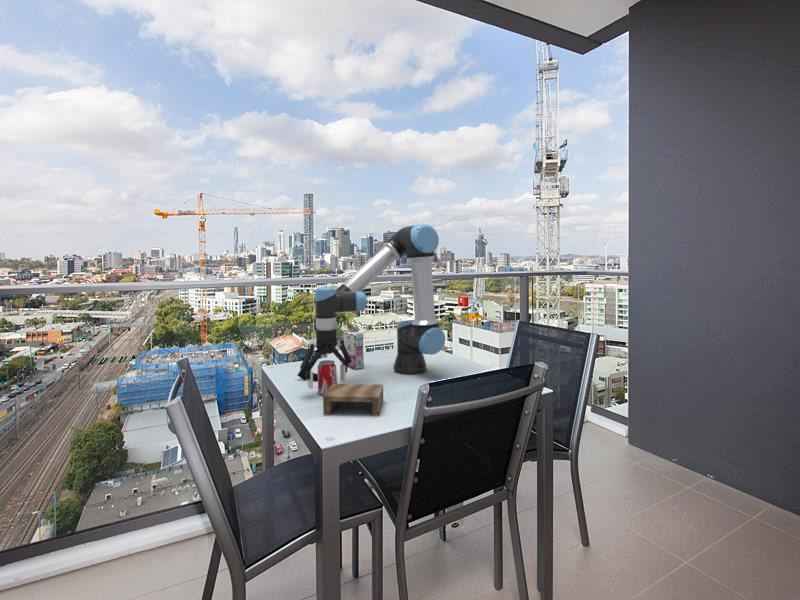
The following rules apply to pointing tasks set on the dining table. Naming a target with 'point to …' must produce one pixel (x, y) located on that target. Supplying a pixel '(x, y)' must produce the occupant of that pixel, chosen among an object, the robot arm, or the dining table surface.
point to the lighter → (303, 375)
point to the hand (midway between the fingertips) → (327, 384)
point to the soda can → (326, 375)
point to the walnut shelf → (353, 396)
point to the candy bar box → (354, 349)
